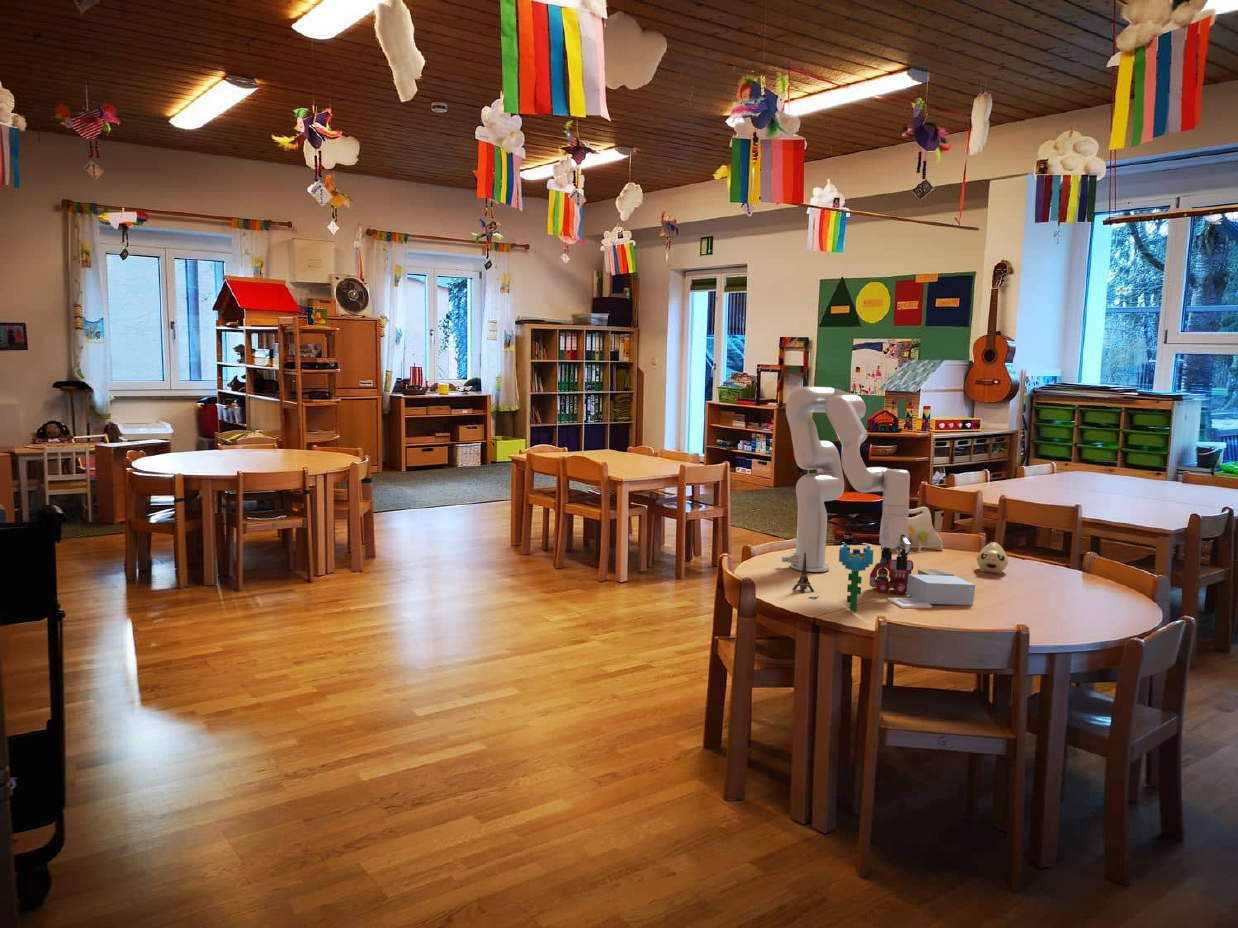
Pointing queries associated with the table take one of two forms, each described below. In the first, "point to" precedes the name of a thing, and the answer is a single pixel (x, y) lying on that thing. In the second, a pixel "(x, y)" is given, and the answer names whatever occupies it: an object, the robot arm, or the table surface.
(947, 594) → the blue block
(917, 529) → the shape sorter
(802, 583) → the eiffel tower figurine
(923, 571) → the tan block
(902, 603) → the tile
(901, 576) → the toy fire truck
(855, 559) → the toy flower
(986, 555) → the yellow animal figurine
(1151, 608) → the table surface
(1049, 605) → the table surface
